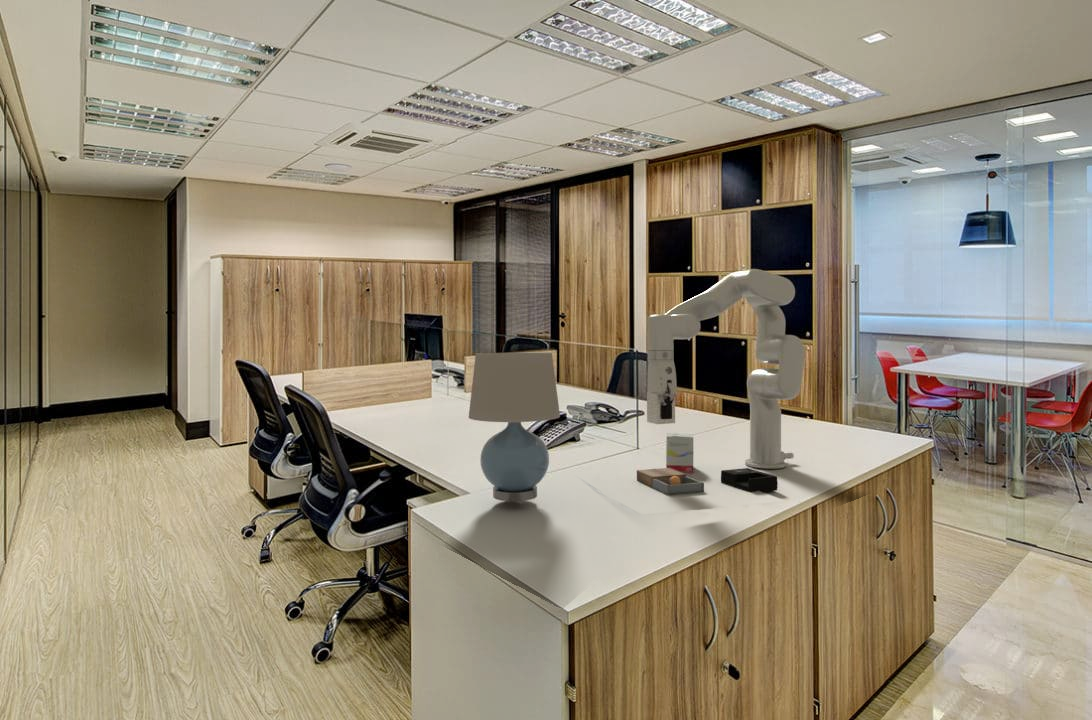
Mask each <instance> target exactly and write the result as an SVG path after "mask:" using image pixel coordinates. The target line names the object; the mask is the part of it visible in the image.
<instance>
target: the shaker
mask: <svg viewBox="0 0 1092 720" xmlns="http://www.w3.org/2000/svg"><path fill="white" fill-rule="evenodd" d="M665 394H669V393H665ZM666 398H667V397H665V400H666ZM661 405H663V403H662V396H661V395H660V394H658V393H651V392H646V422H647V423H650V424H655V425H666V424H667V425H668V424H669V425H670V424H676V396H675V397H674V400H673V405H672V419H662V418H661Z"/></svg>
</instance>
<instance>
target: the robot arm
mask: <svg viewBox="0 0 1092 720" xmlns="http://www.w3.org/2000/svg"><path fill="white" fill-rule="evenodd" d="M795 295H796V288H795V286H794V284H793V282H792V281H791V280H790V279H789V278H786V277H784V276H781V275H778V274H775V273H772V272H769V271H766V270H762V269H759V268H751V269H744V270H737V271H734V272H731V273H729V274H728V275H726V276H724V277H723V278H722V279H720V280H719V281H718V282H717V283H715V284H714V285H712V286H711V287H710V288H708V289H707V290H705V291H703V292H702V293H700V294H698V295H695V296H694V297H692V298H690V299H688V300H686V301H684V302H681V303H680V304H677V305H676V306H675V307H673V308H672V309H670V310H669V311H667V312H666V313H664V314H650V315H649V316H648V317H647V321H646V322H647V329H646V330H647V333H646V334H647V363H648V364H647V375H646V376H647V377H646V378H647V379H646V383H647V387H646V391H647V392H651V393H658V394H660V395H661V396H662V403H663V405H661V418H662V419H672V405H673V400H674V397H675V398H676V395H677V393H678V392H677V391H678V389H677V372H676V371H677V370H676V365H675V361H674V350H675V349H674V340H689V339H693V338H695V337H696V336H698V334H699V333H700V331H701V321H705V320H708V319H712V318H715V317H717V316H720V315H722V314H723V313H726V312H727V310H728V309H730V308H731V307H733V306H734V305H735V304H737V303H738V302H740V301H741V300H742V299H744V298H745V300H746V302H747V304H748V305H749V306H750V307H751V308H752V310H753V311H754V313H755V315H756V317H757V330H756V331H757V332H756V333H757V334H756V340H755V341H756V342H755V350H754V353H755V356H754V357H755V359H756V361H758V362H759V363H761V364H764V365H777V366H778V368H766V367H765V368H757V369H754V370H752V371H751V372H750V373H749V375H748V376H747V379H746V388H747V393H748V399H749V411H750V412H749V413H750V414H749V426H750V428H749V458H748V459H745V461H744V464H745V465H746V466H748V467H750V468H756V469H757V468H758V469H766V470H767V469H770V470H773V469H775V470H776V469H783V468H786V467H787V462H786V461H785V460H786V459H787V460H789V459H794V456H795V455H794V453H793V452H787V453H786V452H785V451H782V408H781V406H780V403H779V402H778V401H779V400H786V401H787V400H789V401H790V400H793V399H795V398H796V397H797V396H799V394H800V392H801V388H802V384H803V376H804V370H805V369H804V367H805V355H806V352H805V351H806V349H805V346H804V343H803V341H802V340H801V338H800V337H798V336H796V335H793V334H786V317H785V314H784V311H783V310H782V309H781V308H780V307H781V306H785V305H788V304H790V303H791V302H792V301H793V300H794V298H795ZM647 392H646V393H647ZM665 393H669V394H665ZM665 397H667V398H666V400H665Z"/></svg>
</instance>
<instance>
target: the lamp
mask: <svg viewBox="0 0 1092 720" xmlns="http://www.w3.org/2000/svg"><path fill="white" fill-rule="evenodd" d="M473 365H474V366H473V372H472V373H473V374H472V382H471V383H472V384H471V391H470V392H471V393H470V399H469V400H470V401H469V411H468V419H469V420H473V421H477V422H478V421H479V422H490V423H491V422H492V423H507V425H506V427H505V428H504V429H502V430H501V431H499V432H497V433H496V434H494V435H492V436H491V437H489V439H488V440H487V441H486V442H485V443H484V445H483V446H482V449H481V453H480V458H479V459H480V467H481V470H482V473H483V475H484V477H485V479H486V480H487V481H488V482H489V483H490V484H491V485H492V486H493V487H492V498H493V499H495V500H496V501H497V500H498V501H503V502H525V501H530V500H534V499H536V498H537V497H538V486H537V485H538V484H539V483H540V482H541V481H542V480H543V479H544V477H545V475H546V474H547V471H548V469H549V464H550V454H549V450H548V447H547V446H546V444H545V442H544V441H543V439H541V438H540V437H539V436H538V435H536V434H535V433H533V432H531V431H529V430H528V429H526V428H525V427H524V426H523V424H522V423H528V422H542V421H543V422H545V421H551V420H555V419H559V418H560V417H561V413H560V412H561V411H560V406H559V397H558V390H557V383H556V375H555V374H556V373H555V367H554V366H555V365H554V357H553V352H482V353H481V352H480V353H475V355H474V364H473Z"/></svg>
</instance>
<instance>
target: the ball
mask: <svg viewBox="0 0 1092 720" xmlns="http://www.w3.org/2000/svg"><path fill="white" fill-rule="evenodd" d="M680 482H681V481H680V478H679V477H677V476H672V477H671V478H670V484H671V485H676V484H680Z"/></svg>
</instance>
